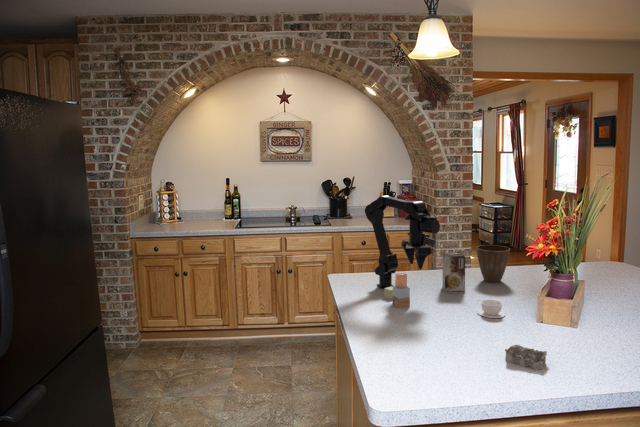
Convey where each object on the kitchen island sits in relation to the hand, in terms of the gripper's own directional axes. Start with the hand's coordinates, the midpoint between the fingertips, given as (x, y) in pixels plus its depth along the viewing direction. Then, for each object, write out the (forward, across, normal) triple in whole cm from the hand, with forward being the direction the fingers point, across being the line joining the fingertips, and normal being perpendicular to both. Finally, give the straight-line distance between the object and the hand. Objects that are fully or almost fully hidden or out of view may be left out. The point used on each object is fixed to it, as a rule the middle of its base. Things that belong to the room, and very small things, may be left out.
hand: (415, 266), depth 198 cm
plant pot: (+13, +11, -44) cm, 47 cm away
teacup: (+14, -29, -18) cm, 37 cm away
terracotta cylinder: (+5, -10, +11) cm, 16 cm away
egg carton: (+14, -66, -5) cm, 68 cm away
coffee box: (+13, +4, -20) cm, 24 cm away
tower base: (+13, -10, +11) cm, 20 cm away
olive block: (+13, +1, +11) cm, 17 cm away
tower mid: (+9, -10, +11) cm, 18 cm away
